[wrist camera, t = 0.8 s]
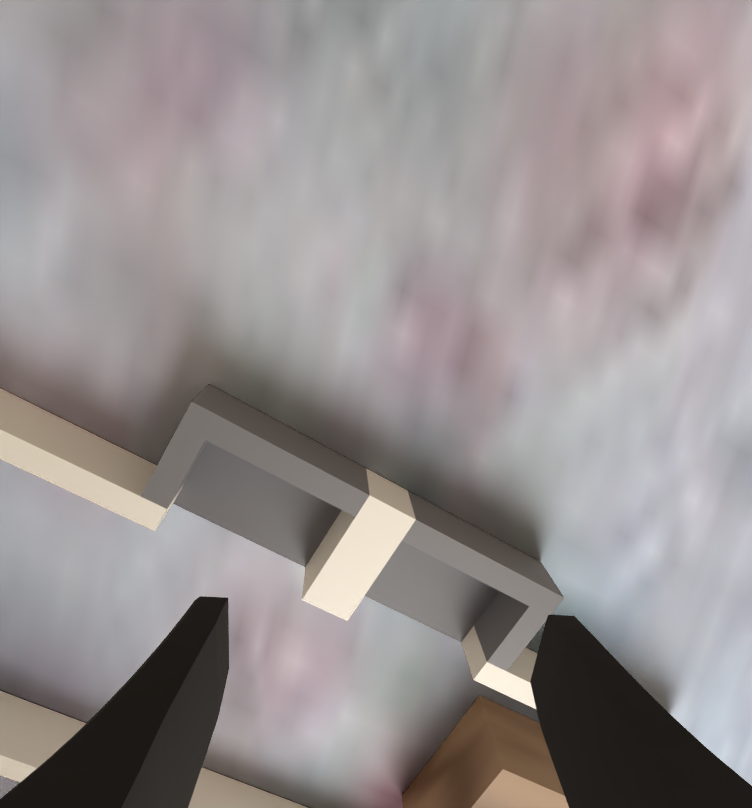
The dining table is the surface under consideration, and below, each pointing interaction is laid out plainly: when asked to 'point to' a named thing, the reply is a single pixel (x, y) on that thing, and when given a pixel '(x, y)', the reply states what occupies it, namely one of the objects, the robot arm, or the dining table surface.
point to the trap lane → (288, 546)
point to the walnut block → (489, 765)
